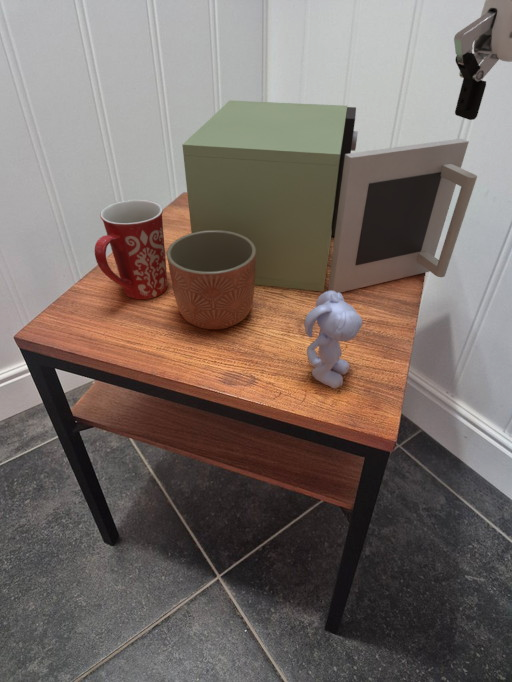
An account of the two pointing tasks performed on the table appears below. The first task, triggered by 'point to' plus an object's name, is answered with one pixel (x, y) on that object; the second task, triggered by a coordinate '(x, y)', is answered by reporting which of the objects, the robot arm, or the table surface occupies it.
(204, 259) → the planter
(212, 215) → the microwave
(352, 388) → the table surface
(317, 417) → the table surface
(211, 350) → the table surface
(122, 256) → the mug
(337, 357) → the toy figurine
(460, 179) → the microwave door
